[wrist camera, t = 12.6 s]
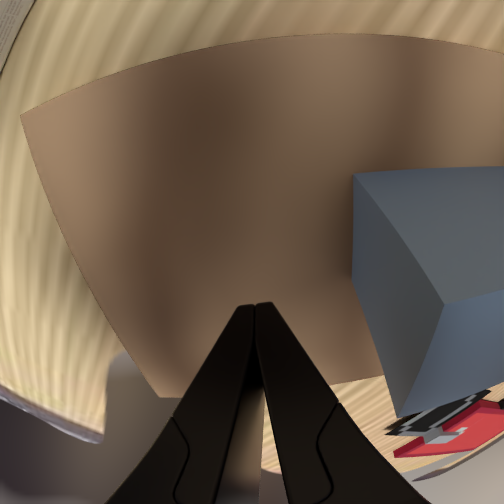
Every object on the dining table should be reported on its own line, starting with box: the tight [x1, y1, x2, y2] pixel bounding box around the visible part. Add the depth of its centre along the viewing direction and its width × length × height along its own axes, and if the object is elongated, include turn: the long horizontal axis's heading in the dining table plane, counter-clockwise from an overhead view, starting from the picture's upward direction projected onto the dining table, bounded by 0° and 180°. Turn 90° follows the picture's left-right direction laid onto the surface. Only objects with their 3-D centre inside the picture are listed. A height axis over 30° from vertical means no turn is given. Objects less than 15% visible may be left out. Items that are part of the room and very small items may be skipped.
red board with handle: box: [385, 389, 504, 458], centre depth 25 cm, size 30×3×15 cm
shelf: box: [20, 34, 504, 397], centre depth 9 cm, size 22×15×6 cm
